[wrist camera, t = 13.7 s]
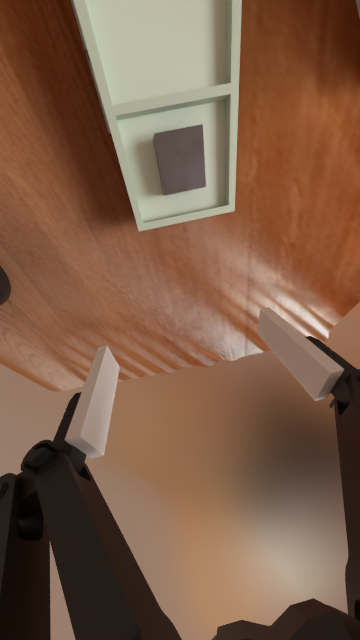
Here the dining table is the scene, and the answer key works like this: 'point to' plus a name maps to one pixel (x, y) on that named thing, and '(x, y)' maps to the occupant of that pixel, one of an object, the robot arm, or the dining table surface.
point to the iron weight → (180, 159)
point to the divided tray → (168, 94)
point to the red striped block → (358, 6)
